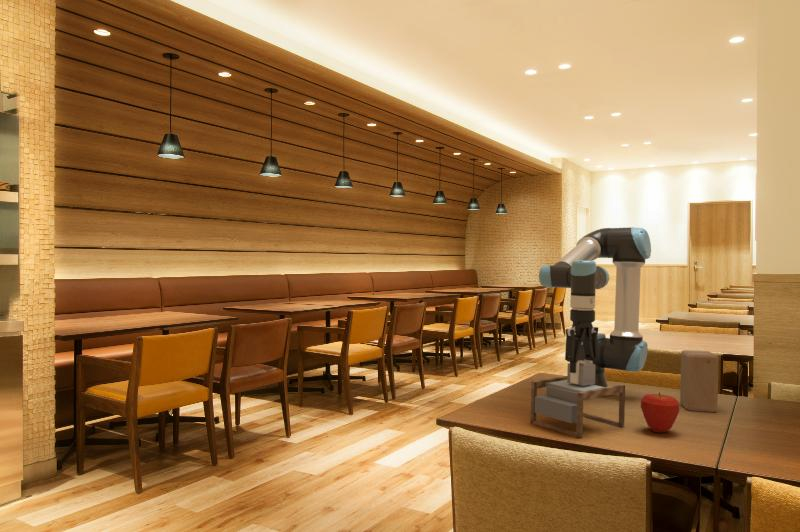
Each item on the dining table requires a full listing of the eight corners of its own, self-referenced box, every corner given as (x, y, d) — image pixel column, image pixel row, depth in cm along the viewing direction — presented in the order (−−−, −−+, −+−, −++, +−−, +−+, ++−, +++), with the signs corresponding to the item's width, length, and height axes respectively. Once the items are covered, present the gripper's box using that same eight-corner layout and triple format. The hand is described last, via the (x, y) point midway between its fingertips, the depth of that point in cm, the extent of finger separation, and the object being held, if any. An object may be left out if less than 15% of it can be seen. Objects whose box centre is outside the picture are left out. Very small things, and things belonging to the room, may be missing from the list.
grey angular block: (573, 423, 171) (574, 394, 170) (532, 411, 183) (533, 384, 183) (608, 415, 180) (609, 387, 180) (567, 404, 193) (568, 378, 193)
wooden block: (718, 413, 201) (719, 355, 201) (687, 411, 203) (688, 354, 203) (708, 406, 211) (710, 351, 211) (679, 404, 213) (680, 349, 213)
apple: (659, 438, 171) (661, 397, 171) (631, 428, 181) (632, 389, 181) (687, 434, 175) (688, 394, 175) (658, 425, 185) (659, 387, 185)
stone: (583, 385, 181) (583, 364, 180) (567, 382, 185) (567, 361, 185) (595, 383, 184) (595, 362, 184) (579, 380, 189) (579, 359, 189)
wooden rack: (579, 438, 170) (580, 393, 170) (530, 422, 185) (531, 381, 185) (624, 426, 183) (625, 384, 183) (574, 413, 198) (575, 374, 198)
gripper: (573, 311, 176) (571, 387, 176) (611, 308, 187) (609, 380, 187) (553, 309, 182) (552, 383, 182) (591, 306, 193) (589, 376, 193)
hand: (581, 381), depth 185 cm, fingers closed on stone, 6 cm apart
